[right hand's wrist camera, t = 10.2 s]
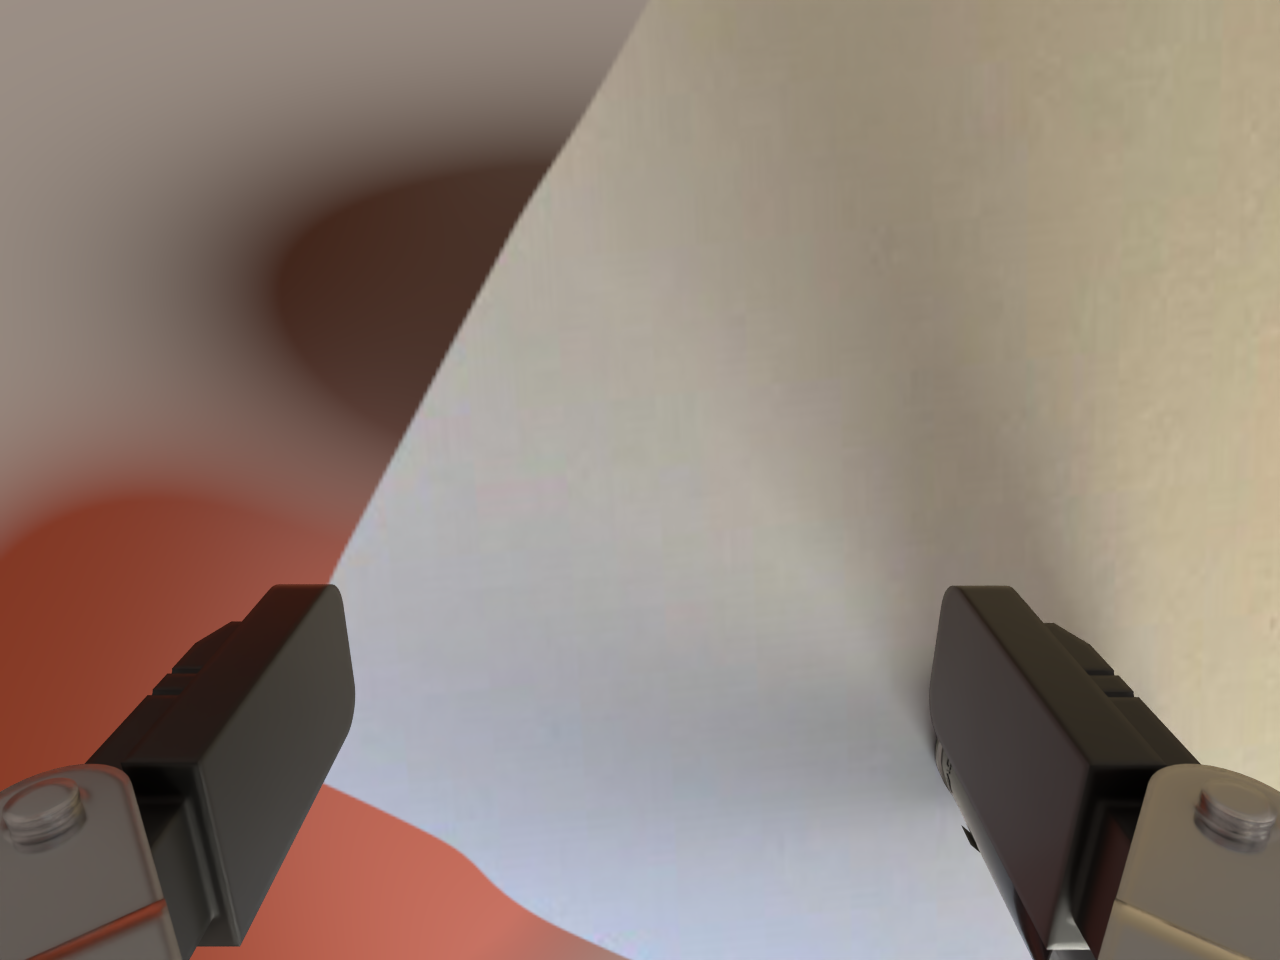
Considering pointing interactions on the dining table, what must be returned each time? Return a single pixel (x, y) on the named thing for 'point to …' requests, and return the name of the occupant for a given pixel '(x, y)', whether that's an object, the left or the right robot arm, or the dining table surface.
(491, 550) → the dining table surface
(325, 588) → the right robot arm
